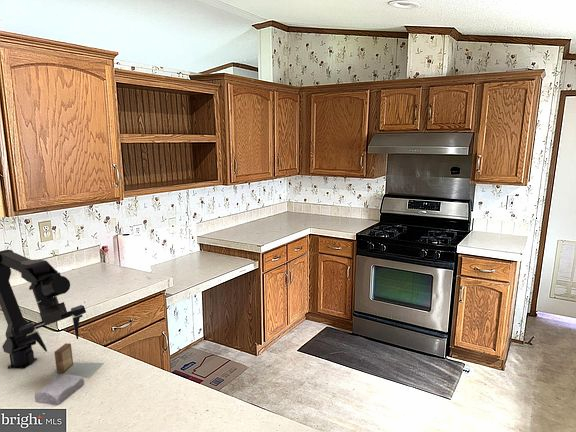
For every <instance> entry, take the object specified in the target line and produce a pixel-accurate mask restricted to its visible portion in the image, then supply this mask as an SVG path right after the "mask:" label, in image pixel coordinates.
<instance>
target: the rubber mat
mask: <svg viewBox="0 0 576 432" xmlns="http://www.w3.org/2000/svg"><path fill="white" fill-rule="evenodd" d="M104 364H105V363H104V362H77V361H76V362H74V361H73V365H72V366H71V367H70V368H69V369H68V370H67V371H66V372H65V373H63V374H57V369H56V368H55V369H54V370H52V372H50V373H49V374H48V375H47V377H56V378H57V377H60V376H63V375H75V376H79V377H83V378H91V377H93V375H94V374H95V373H97V371H98V370H99V369H100V368H101V367H102V366H103V365H104Z"/></svg>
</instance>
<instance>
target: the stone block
mask: <svg viewBox="0 0 576 432" xmlns="http://www.w3.org/2000/svg"><path fill="white" fill-rule="evenodd" d="M84 384H85V379H84V377H79V376H75V375H63V376H60V377H56V378H54V379H52V380H51V381H49V382H48V383H47V384H46V385H45V386H44V387H42V388H41V389H40V390H38V391H37V392H35V393H34V399H35V402H36V403H38V404H42V405H43V404H46V405H54V406H58V405H60V404H61V403H63V402H64V401H66V400H67V399H68V398H69V397H70V396H72V395H73V394H74V393H75V392H77V391H78V390H79V389H81V388H82V387H83V386H84Z"/></svg>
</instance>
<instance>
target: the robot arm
mask: <svg viewBox="0 0 576 432" xmlns="http://www.w3.org/2000/svg"><path fill="white" fill-rule="evenodd" d="M11 269H12V270H15V271H16V272H19V273H20V276H21V278H22V279H24V280H25V281H26V282H28V283H31V284H30V286H29V288H28V290H29V291H32V293H33V296H34V299H35V302H36V305H37V307H38V310H39V315H40V319H41V321H38V322H36V323H35V321H33V322H32V321H31V320H29V321H28V320H26V319H25V318H24V316H23V314H22V311H21V308H20V306H19V303H18V301H17V298H16V295H15V293H14V290H13V288H12V286H11V282H10V278H11V275H12V270H11ZM70 288H71V281H70V280H69V278H67V277H66V276H63V275H61V272H59V271H58V270H57V269H55V268H54V266H52V264H50V262H49V261H47V260H45V259H31V258H28V257H26V256H23V255H21V254H19V253H16V252H14V251H13V250H12V249H4V250H0V308H1V311H2V314H3V316H4V319H5V320H6V323H7V327H6V331H5V337H6V339H5V341H4V342H3V344H2V346H1V347H2V350H3V352H4V353H6V354H7V355H8V354H9V361H10V365H8V366H7V369H20V370H21V369H22V370H23V369H26V368H27V367H29V366H30V365H31V364H33V363H34V362H35V361H37V360H38V359H37V358H36V357H35V355H34V350H33V346H36V344H37V343H38V345H39V346H40V347H41V348H42V349H43V350H44V352H45V353H46V352H48V349H47V347H46V344H45V342H44V340H43V338H42V336H41V334H40V333H39V331H38V329H41V328H43V327H46V326H49V325H51V324H53V323H56V322H60V321H61V320H65V319H67V318H70V317H72V323H73V328H74V334H75V337H76V339H77V340H79V326H80V318H82V317H83V315H84V314H85V313H87V311H86V308H85V306H84V305H82V304H80V305H76V306H75V307H71V308H70V310H69V311H68V309H67V308H66V304H65V302H64V301H62V302H59V299H58V296H61V295H63V294H66V293H68V292H69V290H70Z"/></svg>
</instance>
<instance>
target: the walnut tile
mask: <svg viewBox="0 0 576 432" xmlns="http://www.w3.org/2000/svg"><path fill="white" fill-rule="evenodd" d="M53 353H54V360H55V367H56V368H55V369H57V374H63V373H65V372H66V371H67V370H68V369H69V368H70V367H71V366H72V365H73V362H74V359H73V350H72V344H71V343H64V344H63V345H62V346H60V347H59V348H58V349H56V350H55V351H54V352H53Z"/></svg>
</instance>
